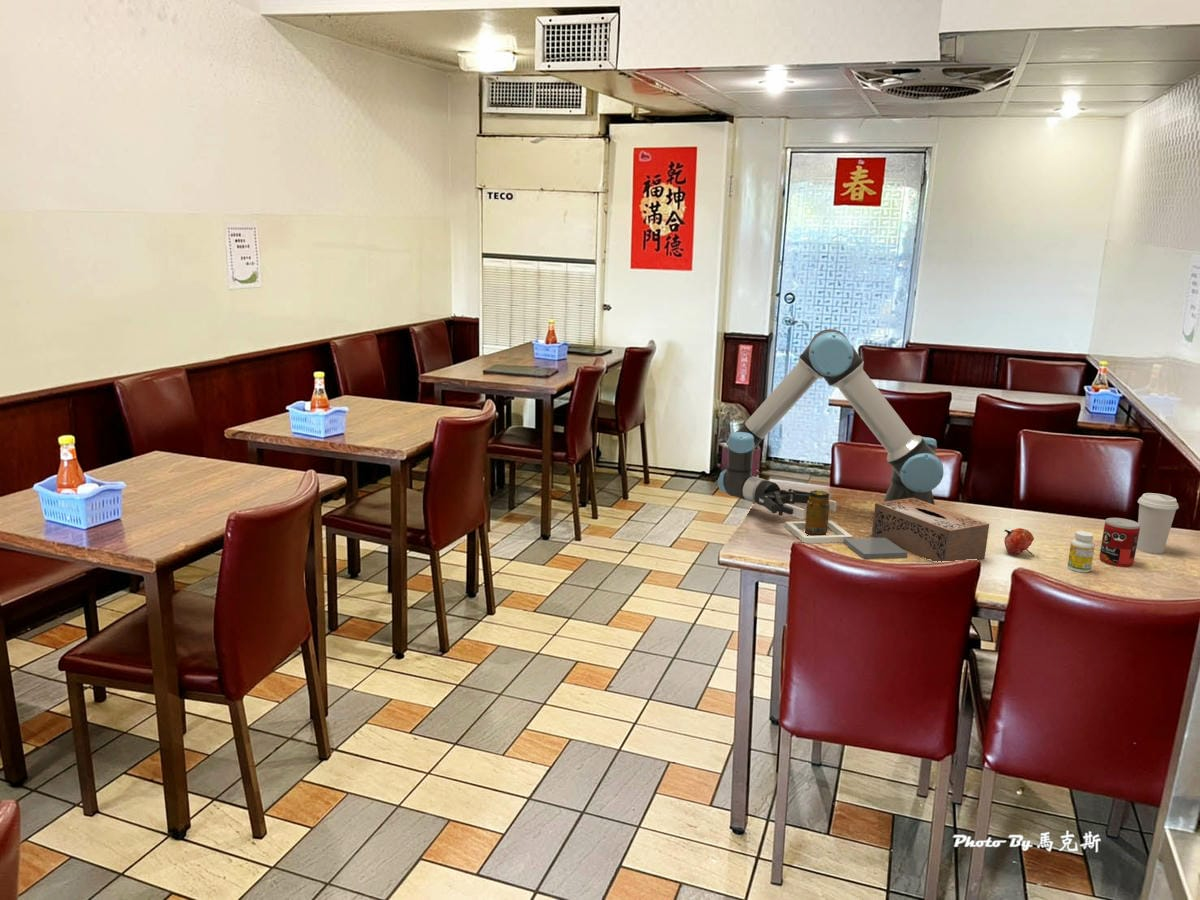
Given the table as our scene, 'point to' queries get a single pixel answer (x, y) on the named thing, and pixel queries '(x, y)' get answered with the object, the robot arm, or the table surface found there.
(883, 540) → the charcoal tile
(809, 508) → the condiment
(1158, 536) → the coffee cup
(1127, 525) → the canned food
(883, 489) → the table surface
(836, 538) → the pocket holder
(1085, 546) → the supplement bottle
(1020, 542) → the pomegranate
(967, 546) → the tissue box cover
